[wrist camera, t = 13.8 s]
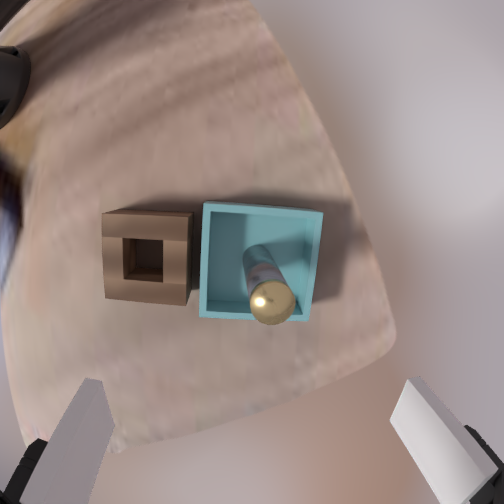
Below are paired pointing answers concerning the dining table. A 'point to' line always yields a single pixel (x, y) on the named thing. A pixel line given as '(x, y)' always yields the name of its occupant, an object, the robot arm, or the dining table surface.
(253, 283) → the steel pin
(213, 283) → the pin tray
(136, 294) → the block
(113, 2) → the dining table surface
